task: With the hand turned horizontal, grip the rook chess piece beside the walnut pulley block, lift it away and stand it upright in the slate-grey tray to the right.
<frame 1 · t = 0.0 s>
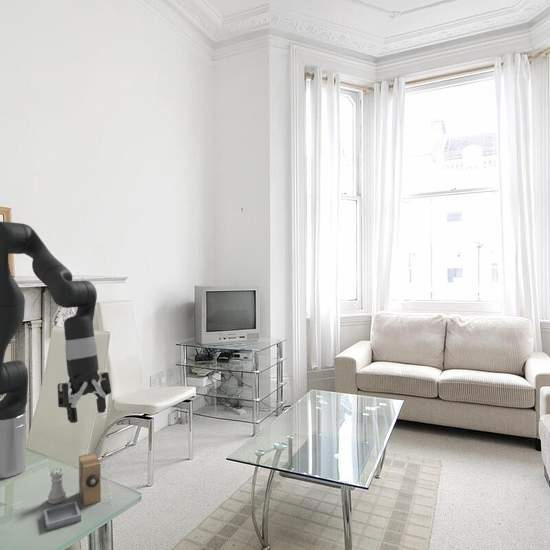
hand: (88, 417, 112), 22 cm above the table, tool pointing down, fingers open, 8 cm apart
tray: (62, 518, 105), on the table
rook chess piece: (57, 500, 113), on the table
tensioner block: (89, 496, 114), on the table
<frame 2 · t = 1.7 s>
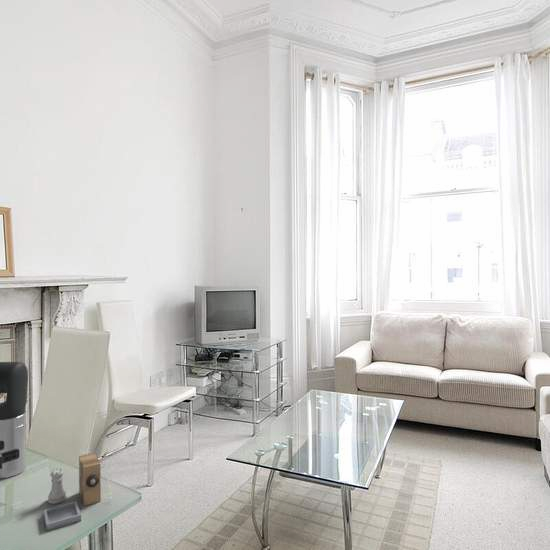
hand: (11, 448, 104), 17 cm above the table, tool horizontal, fingers open, 8 cm apart
nothing on the table moved.
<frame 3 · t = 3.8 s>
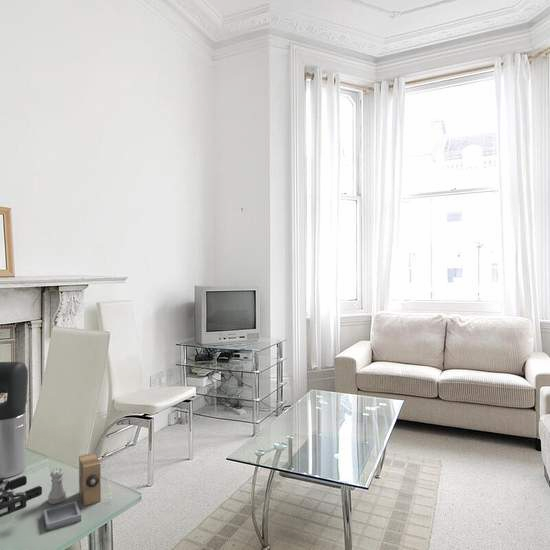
hand: (33, 484, 108), 7 cm above the table, tool horizontal, fingers open, 8 cm apart
nothing on the table moved.
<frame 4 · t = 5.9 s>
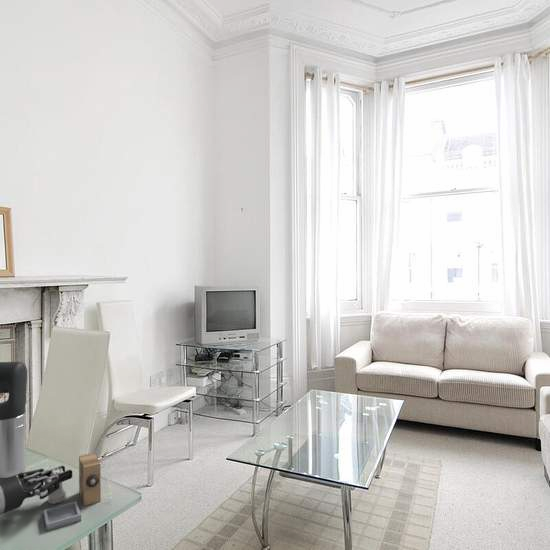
hand: (67, 471, 115), 7 cm above the table, tool horizontal, fingers closed on rook chess piece, 3 cm apart
rook chess piece: (57, 500, 113), on the table, touching gripper
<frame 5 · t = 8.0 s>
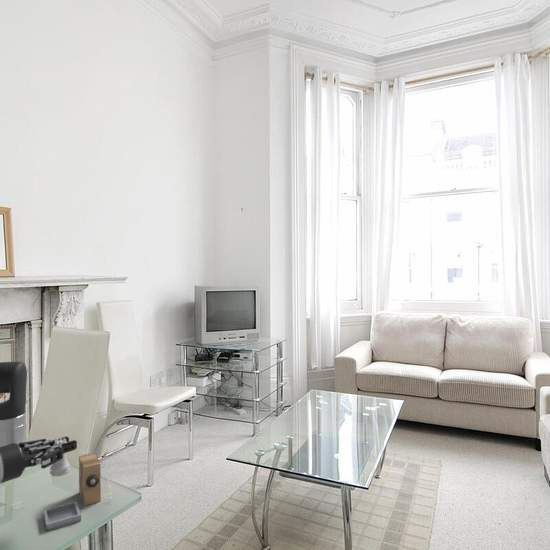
hand: (71, 442, 107), 18 cm above the table, tool horizontal, fingers closed on rook chess piece, 3 cm apart
rook chess piece: (60, 473, 104), point 11 cm above the table, touching gripper
when the fingers open (8 cm above the table, at t = 10.3 s): rook chess piece stays where it is, resting on tray.
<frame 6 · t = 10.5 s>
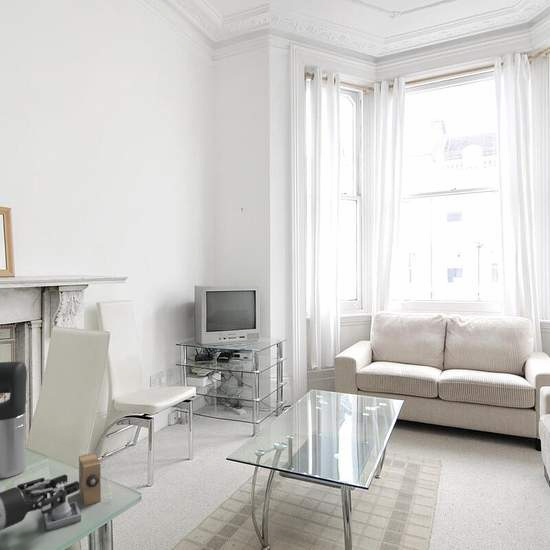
hand: (72, 481, 106), 8 cm above the table, tool horizontal, fingers open, 5 cm apart
rook chess piece: (61, 517, 104), resting on tray
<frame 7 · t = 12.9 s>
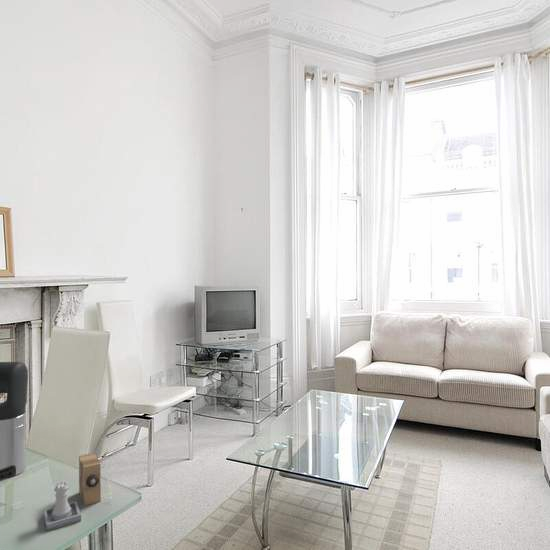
hand: (7, 464, 98), 16 cm above the table, tool horizontal, fingers open, 8 cm apart
nothing on the table moved.
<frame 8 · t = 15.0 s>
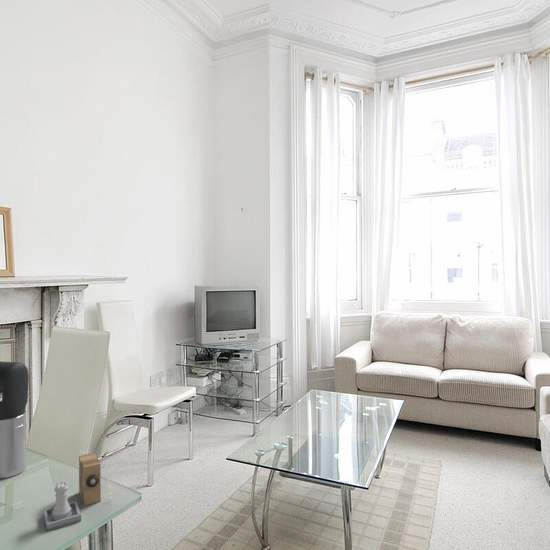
nothing on the table moved.
at the end: rook chess piece 0.1 cm off-centre on the tray, point 0.3 cm above the tray's base; rook chess piece tilted 0°; the gripper is holding nothing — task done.
